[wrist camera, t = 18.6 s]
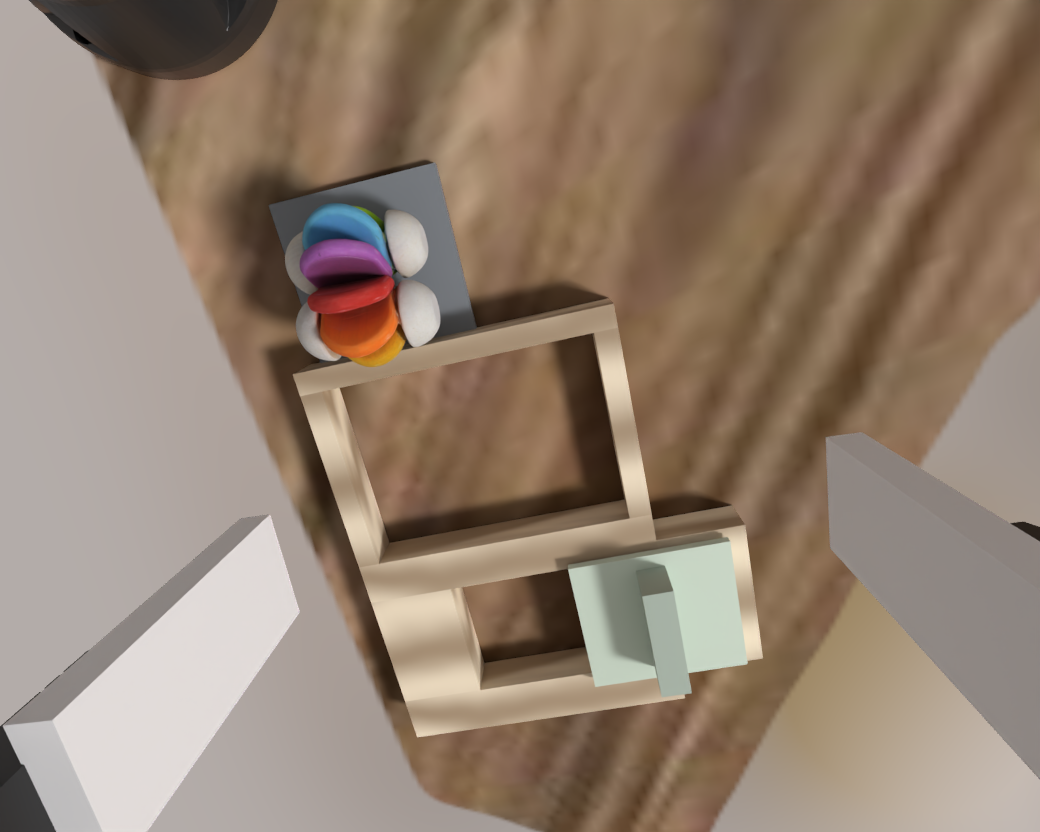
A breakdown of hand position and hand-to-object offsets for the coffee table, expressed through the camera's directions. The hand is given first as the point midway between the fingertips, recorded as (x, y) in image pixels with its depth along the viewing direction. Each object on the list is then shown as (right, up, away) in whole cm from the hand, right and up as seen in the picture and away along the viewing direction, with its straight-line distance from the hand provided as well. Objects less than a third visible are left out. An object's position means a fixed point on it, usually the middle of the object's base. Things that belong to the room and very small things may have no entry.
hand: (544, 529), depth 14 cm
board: (+1, -5, +31) cm, 31 cm away
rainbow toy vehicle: (-10, +10, +25) cm, 28 cm away
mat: (-10, +12, +26) cm, 30 cm away
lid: (+9, -11, +29) cm, 32 cm away
